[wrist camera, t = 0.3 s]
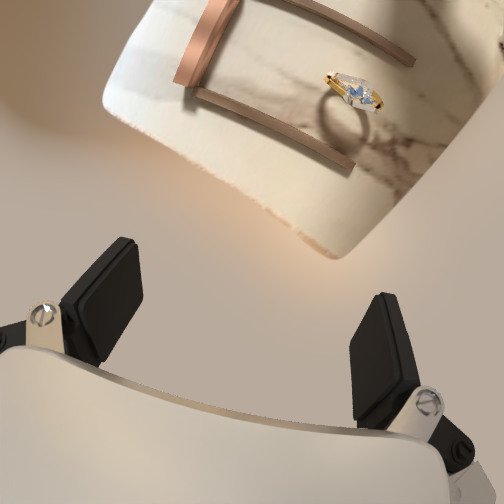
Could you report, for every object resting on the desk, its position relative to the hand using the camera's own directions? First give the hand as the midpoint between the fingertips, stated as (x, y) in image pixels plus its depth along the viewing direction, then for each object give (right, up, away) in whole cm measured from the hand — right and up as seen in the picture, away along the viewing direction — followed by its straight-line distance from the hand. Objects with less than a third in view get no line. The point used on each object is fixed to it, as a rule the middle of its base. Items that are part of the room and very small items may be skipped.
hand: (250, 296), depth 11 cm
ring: (+12, +21, +19) cm, 31 cm away
